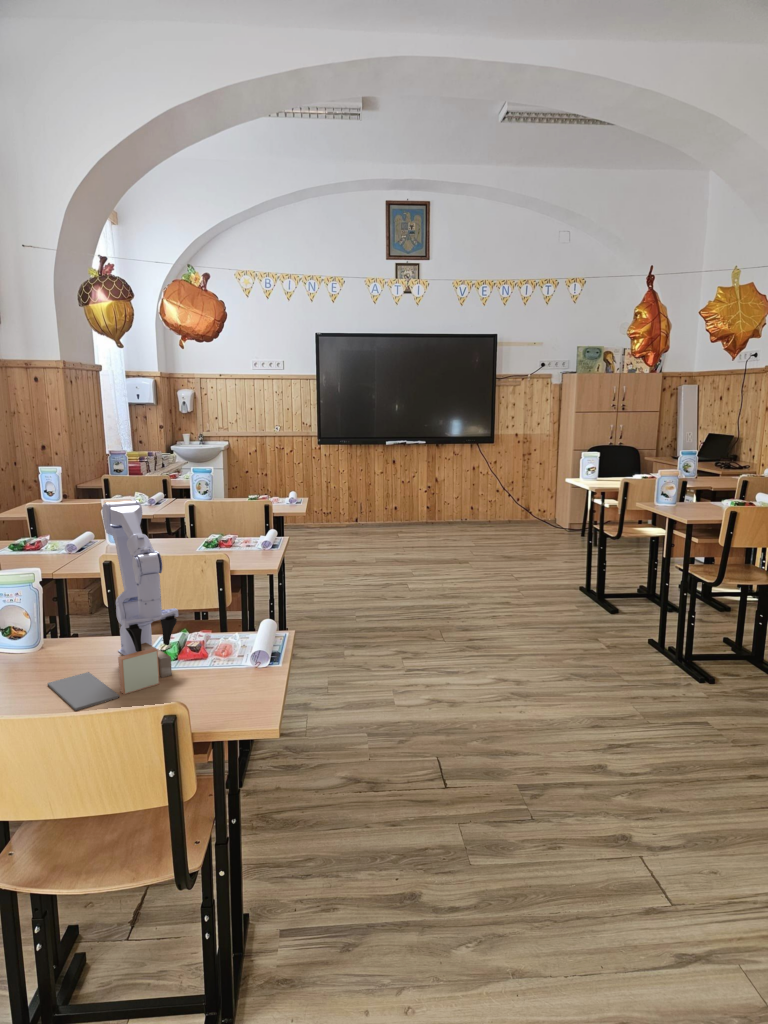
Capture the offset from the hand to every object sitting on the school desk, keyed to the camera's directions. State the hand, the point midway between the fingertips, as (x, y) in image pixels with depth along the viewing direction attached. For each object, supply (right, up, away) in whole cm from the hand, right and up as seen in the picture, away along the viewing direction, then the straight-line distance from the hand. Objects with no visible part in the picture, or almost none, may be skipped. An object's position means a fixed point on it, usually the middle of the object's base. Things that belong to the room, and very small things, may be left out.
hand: (152, 647), depth 172 cm
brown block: (0, -6, +1) cm, 6 cm away
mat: (-12, -8, -14) cm, 20 cm away
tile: (+1, -8, -12) cm, 14 cm away
